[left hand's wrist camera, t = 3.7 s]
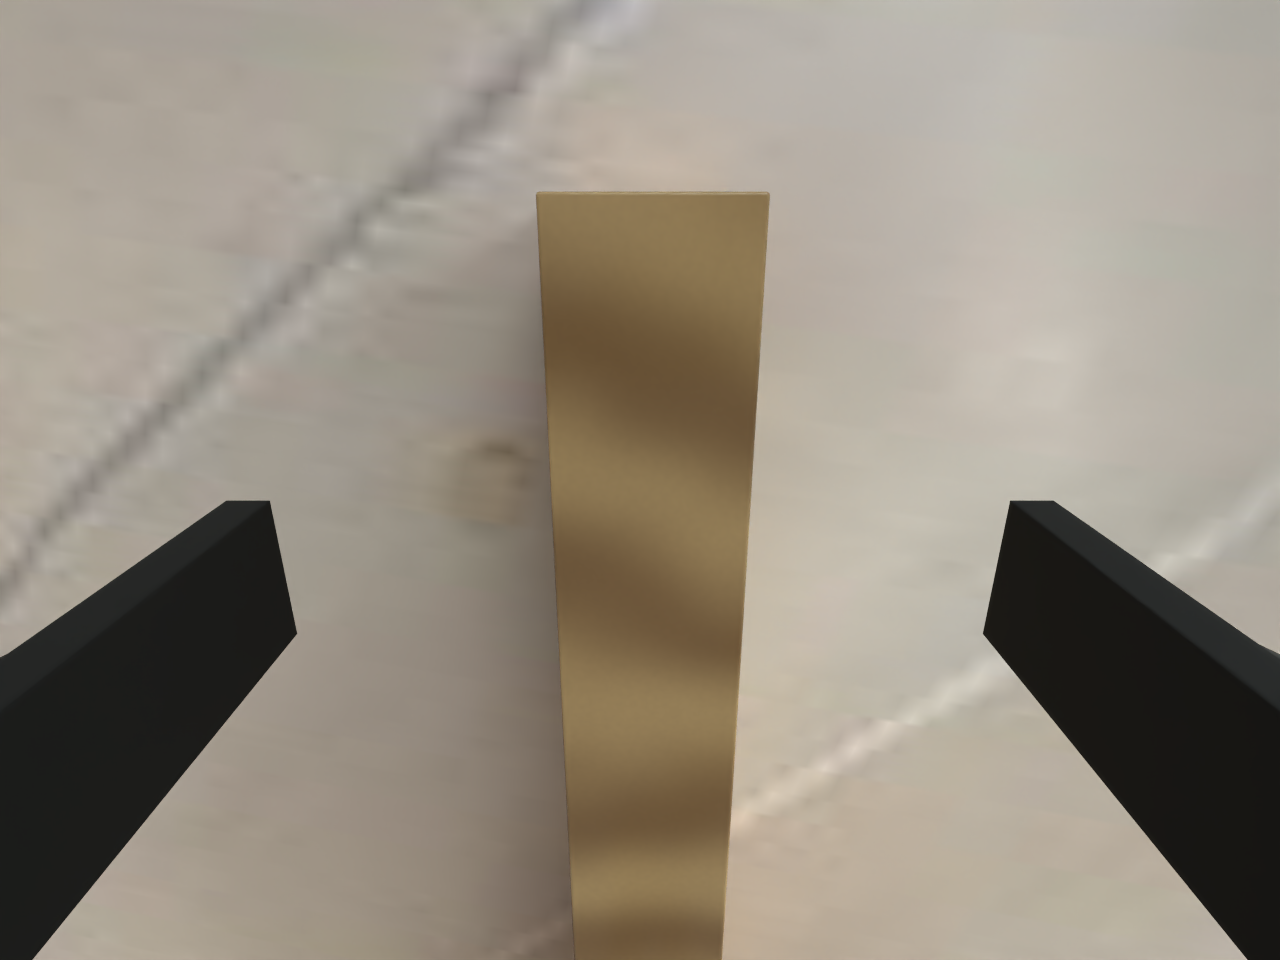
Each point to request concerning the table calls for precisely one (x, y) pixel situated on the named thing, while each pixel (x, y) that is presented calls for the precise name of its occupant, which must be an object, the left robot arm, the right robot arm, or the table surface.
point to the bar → (650, 546)
